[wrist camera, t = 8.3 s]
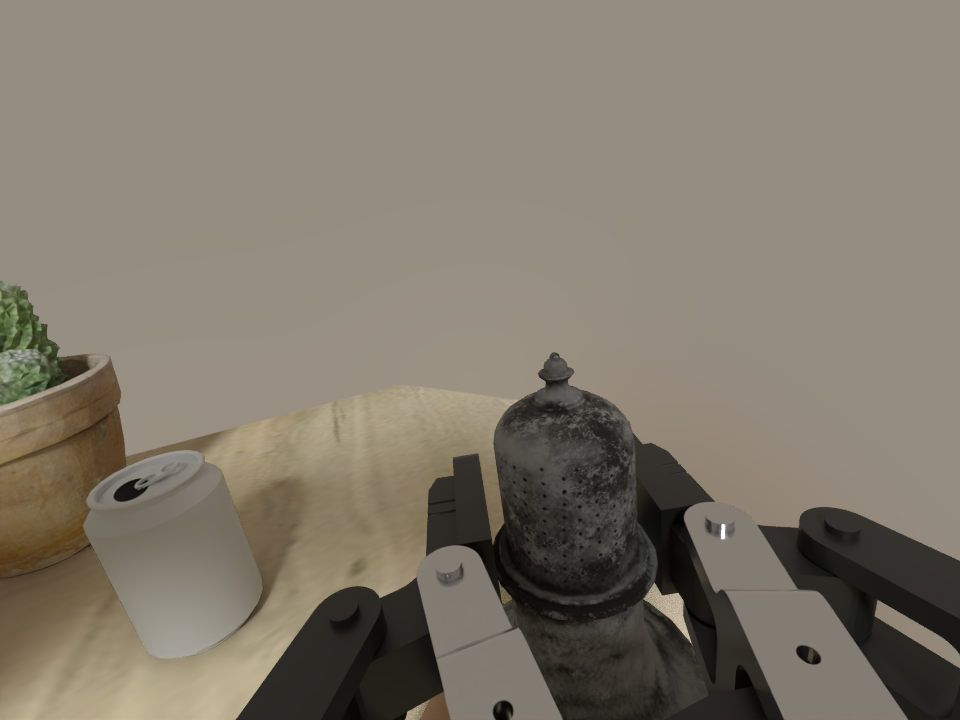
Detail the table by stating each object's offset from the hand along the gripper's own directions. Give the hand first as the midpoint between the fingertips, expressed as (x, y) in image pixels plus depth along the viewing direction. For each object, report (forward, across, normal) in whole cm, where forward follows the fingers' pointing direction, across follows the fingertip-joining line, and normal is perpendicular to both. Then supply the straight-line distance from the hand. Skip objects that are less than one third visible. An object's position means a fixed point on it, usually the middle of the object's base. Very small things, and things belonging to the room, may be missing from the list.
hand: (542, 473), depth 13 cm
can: (+16, +22, +18) cm, 32 cm away
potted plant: (+29, +43, +18) cm, 55 cm away
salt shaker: (-3, 0, +8) cm, 8 cm away
